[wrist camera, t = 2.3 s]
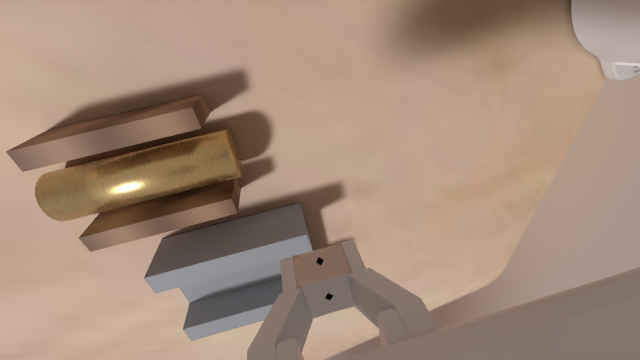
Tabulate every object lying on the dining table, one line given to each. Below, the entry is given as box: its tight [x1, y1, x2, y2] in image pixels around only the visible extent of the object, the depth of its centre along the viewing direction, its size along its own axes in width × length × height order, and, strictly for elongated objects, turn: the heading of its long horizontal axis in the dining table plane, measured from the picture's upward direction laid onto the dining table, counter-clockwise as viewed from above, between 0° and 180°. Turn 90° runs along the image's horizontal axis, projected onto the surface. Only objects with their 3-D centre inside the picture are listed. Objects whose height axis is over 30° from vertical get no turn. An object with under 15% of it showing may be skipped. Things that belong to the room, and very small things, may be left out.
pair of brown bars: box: [6, 94, 241, 252], centre depth 23 cm, size 12×9×4 cm
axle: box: [35, 129, 242, 221], centre depth 23 cm, size 14×4×4 cm, turn 101°
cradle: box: [144, 203, 313, 341], centre depth 29 cm, size 14×10×5 cm
